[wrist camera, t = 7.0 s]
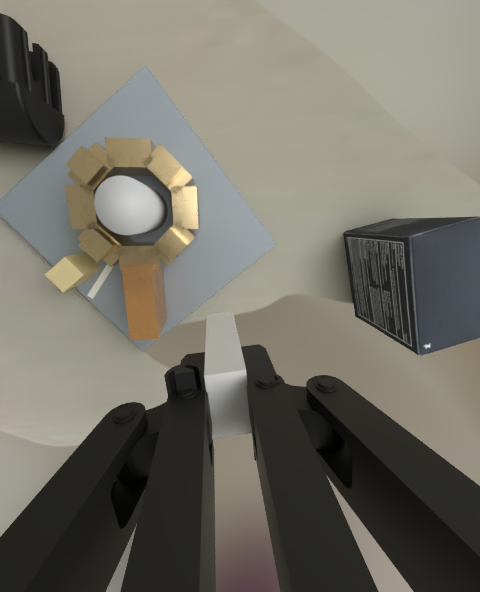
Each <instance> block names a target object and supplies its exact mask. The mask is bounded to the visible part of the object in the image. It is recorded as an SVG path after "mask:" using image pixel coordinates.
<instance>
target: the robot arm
mask: <svg viewBox="0 0 480 592" xmlns="http://www.w3.org/2000/svg"><path fill="white" fill-rule="evenodd" d="M164 376H165V381H166V387H167V392H168V399H167V402H165V403H163V404H162V405H160V406H157V407H155V408H152V409H149V410H145V406H144V405H142V404H141V403H137V402H132V403H125V404H122V405H120V406H118V407H116V408H114V409H112V410H111V411H110V412H109V413H108V414H107V415H106V416H105V417H104V418H103V419H102V420H101V421H100V423H99V424H98V425H97V426H96V427H95V428H94V429H93V431H92V432H91V433H90V434H89V435H88V436H87V438H86V439H85V440H84V441H83V442H82V443H81V444H80V446H79V447H78V448H77V449H76V450H75V451H74V453H73V454H72V455H71V456H70V457H69V459H68V460H67V461H66V462H65V463H64V464H63V465H62V466H61V468H60V469H59V470H58V471H57V472H56V473H55V475H54V476H53V477H52V478H51V479H50V480H49V482H48V483H47V484H46V485H45V486H44V487H43V488H42V490H41V491H40V492H39V493H38V494H37V495H36V496H35V498H34V499H33V500H32V501H31V502H30V503H29V505H28V506H27V507H26V508H25V509H24V510H23V511H22V513H21V514H20V515H19V516H18V517H17V518H16V520H15V521H14V522H13V523H12V524H11V525H10V527H9V528H8V529H7V530H6V531H5V532H4V534H3V535H2V536H1V537H0V592H106V589H107V587H108V585H109V583H110V580H111V579H112V576H113V574H114V572H115V570H116V568H117V566H118V563H119V561H120V559H121V557H122V555H123V553H124V550H125V548H126V546H127V544H128V542H129V540H130V537H131V535H132V533H133V531H134V529H135V527H136V530H135V534H134V539H133V543H132V547H131V551H130V555H129V559H128V563H127V567H126V571H125V575H124V580H123V584H122V588H121V592H216V577H215V576H216V574H215V571H216V570H215V503H214V502H215V497H214V447H213V440H212V435H213V439H215V438H222V437H229V436H236V435H242V434H249V433H252V436H253V445H254V457H255V460H256V461H257V467H258V472H259V478H260V483H261V489H262V494H263V499H264V504H265V510H266V515H267V521H268V527H269V532H270V538H271V543H272V548H273V554H274V559H275V565H276V570H277V575H278V581H279V586H280V591H281V592H378V590H377V587H376V585H375V583H374V581H373V579H372V576H371V574H370V572H369V570H368V568H367V565H366V563H365V561H364V558H363V556H362V554H361V552H360V550H359V547H358V545H357V543H356V541H355V539H354V536H353V534H352V532H351V530H350V527H349V525H348V523H347V520H346V518H345V516H344V514H343V512H342V509H341V507H340V505H339V503H338V500H337V498H336V496H335V494H334V491H333V489H332V487H331V485H330V483H329V480H328V478H329V479H330V480H331V481H332V483H333V484H334V486H335V487H336V488H337V490H338V491H339V492H340V493H341V495H342V496H343V498H344V499H345V500H346V502H347V503H348V504H349V506H350V507H351V508H352V510H353V511H354V512H355V514H356V515H357V516H358V517H359V519H360V520H361V522H362V523H363V524H364V526H365V527H366V528H367V530H368V531H369V532H370V534H371V535H372V536H373V538H374V539H375V540H376V542H377V543H378V544H379V546H380V547H381V548H382V550H383V551H384V552H385V553H386V555H387V556H388V558H389V559H390V560H391V562H392V563H393V564H394V566H395V567H396V568H397V570H398V571H399V572H400V574H401V575H402V576H403V578H404V579H405V580H406V582H407V583H408V584H409V586H410V587H411V588H412V590H413V591H414V592H480V486H479V485H478V484H476V483H475V482H474V481H472V480H471V479H470V478H468V477H467V476H466V475H464V474H463V473H462V472H461V471H459V470H458V469H457V468H455V467H454V466H453V465H451V464H450V463H449V462H447V461H446V460H445V459H444V458H442V457H441V456H440V455H438V454H437V453H436V452H434V451H433V450H432V449H430V448H429V447H428V446H427V445H425V444H424V443H423V442H421V441H420V440H419V439H417V438H416V437H414V436H413V435H412V434H411V433H410V432H408V431H407V430H406V429H404V428H403V427H402V426H400V425H399V424H398V423H396V422H395V421H394V420H392V419H391V418H390V417H389V416H387V415H386V414H385V413H383V412H382V411H381V410H379V409H378V408H377V407H375V406H374V405H373V404H372V403H370V402H369V401H368V400H366V399H365V398H364V397H362V396H361V395H360V394H358V393H357V392H356V391H354V390H353V389H352V388H351V387H349V386H348V385H347V384H345V383H344V382H343V381H341V380H339V379H338V378H336V377H332V376H328V375H320V376H315V377H313V378H310V379H309V380H308V381H307V386H306V387H300V386H291V385H288V384H285V382H284V380H283V379H282V378H281V376H279V375H277V374H276V372H275V370H274V367H273V365H272V363H271V360H270V358H269V356H268V353H267V351H266V349H265V348H264V347H262V346H261V345H251V346H243V347H241V346H240V341H239V337H238V333H237V328H236V324H235V320H234V315H233V311H232V312H224V313H215V314H207V326H206V347H205V352H202V353H195V354H187V355H186V356H185V357H184V358H183V359H182V360H181V364H180V365H177V366H175V367H173V368H171V369H170V370H168V371H167V372H166V374H165V375H164ZM326 475H327V476H328V478H327V476H326ZM136 524H137V526H136Z"/></svg>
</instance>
